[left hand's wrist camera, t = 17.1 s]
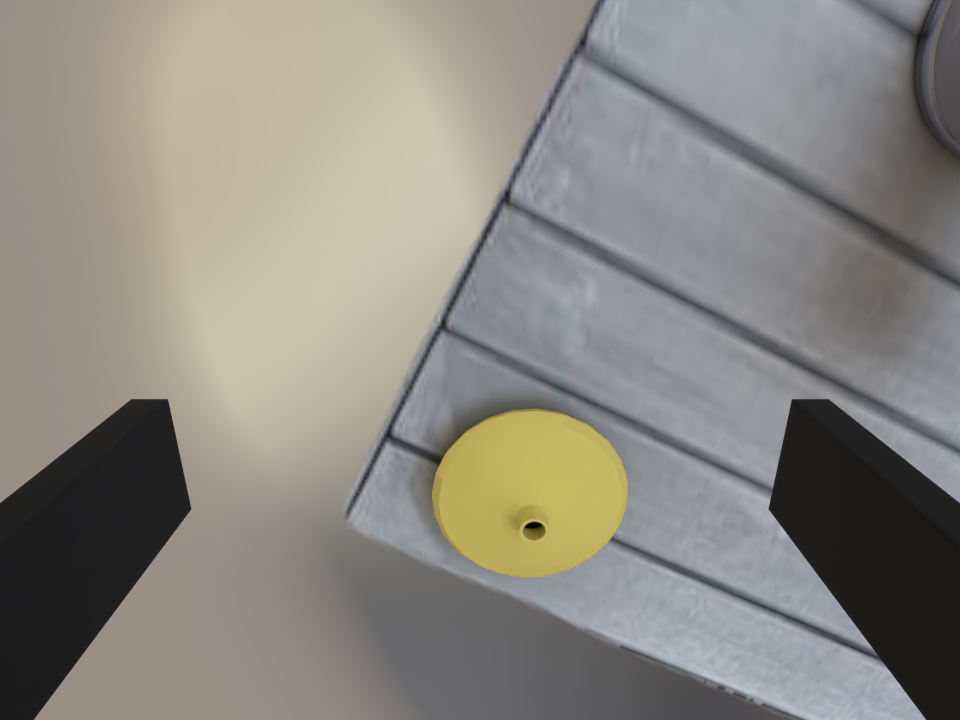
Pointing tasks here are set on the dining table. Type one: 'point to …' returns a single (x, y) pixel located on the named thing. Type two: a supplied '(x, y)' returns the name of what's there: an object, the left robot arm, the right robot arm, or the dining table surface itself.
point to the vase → (530, 493)
